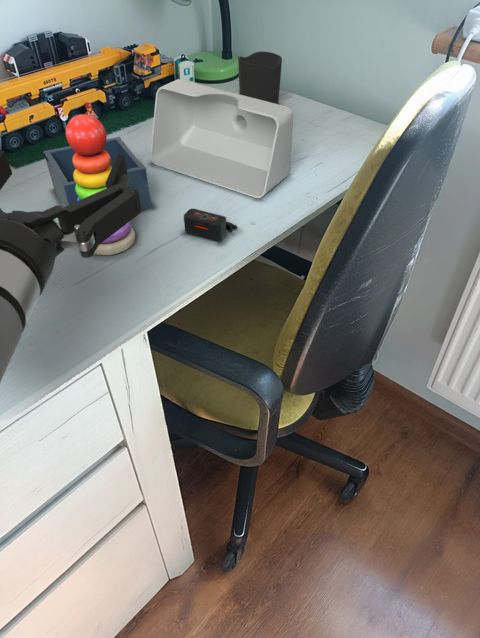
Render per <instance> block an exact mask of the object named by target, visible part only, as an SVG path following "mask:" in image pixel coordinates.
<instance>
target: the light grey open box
mask: <svg viewBox="0 0 480 638" xmlns="http://www.w3.org/2000/svg"><path fill="white" fill-rule="evenodd" d="M155 93H156V94H155V100H154V101H155V102H154V103H155V104H154V111H153V123H152V133H151V142H150V143H151V145H150V153H149V154H150V160H151V162H152V163H153V164H154V165H155V166H158V167H161V168H164V169H167V170H171V171H173V172H177V173H179V174H182V175H185V176H188V177H191V178H195V179H197V180H201V181H203V182H207V183H209V184H213V185H215V186H218V187H222V188H224V189H227V190H231V191H233V192H237V193H239V194H243V195H246V196H249V197H251V198H255V199H261V198H262V197H265V195H266V194H268V192H270V191H271V190H272V189H273V188H275V187H276V186H277V185H278V184H279V183H280V182H282V181H283V180H285V178H287V177H288V176H289V175H290V172H291V160H292V159H291V157H292V145H293V143H292V142H293V130H294V113H293V111H292V109H291V108H290V107H288V106H286V105H282V104H279V103H278V104H275V103H271V102H267V101H263V100H259V99H255V98H251V97H247V96H243V95H240V93H235V92H232V91H227V90H223V89H220V88H216V87H211V86H207V85H204V84H199V83H195V82H192V81H188V80H184V79H180V78H177V79H175V80H173V81H171V82H169V83H167V84H164V85H162V86H160V87H159V88H158V89H157V91H156V92H155Z"/></svg>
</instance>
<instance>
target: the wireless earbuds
mask: <svg viewBox="0 0 480 638" xmlns="http://www.w3.org/2000/svg"><path fill="white" fill-rule="evenodd" d="M183 222H184V223H183V224H184V226H183V227H184V232H185V234H187V235H190V236H193V237H197V238H201V239H204V240H208V241H212V242H215V243H221V242H222V241H223V240H224V239H225V238H226V236H227V232H228V233H232V232H233V231H235V230H237V229H238V226H237V225H236V224H234V223H232V222H229V221H227V217H226V216H224V215H221V214H216V213H213V212H208V211H205V210H201V209H198V208H189V209H188V210H187V211H185V213H184V214H183Z"/></svg>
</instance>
